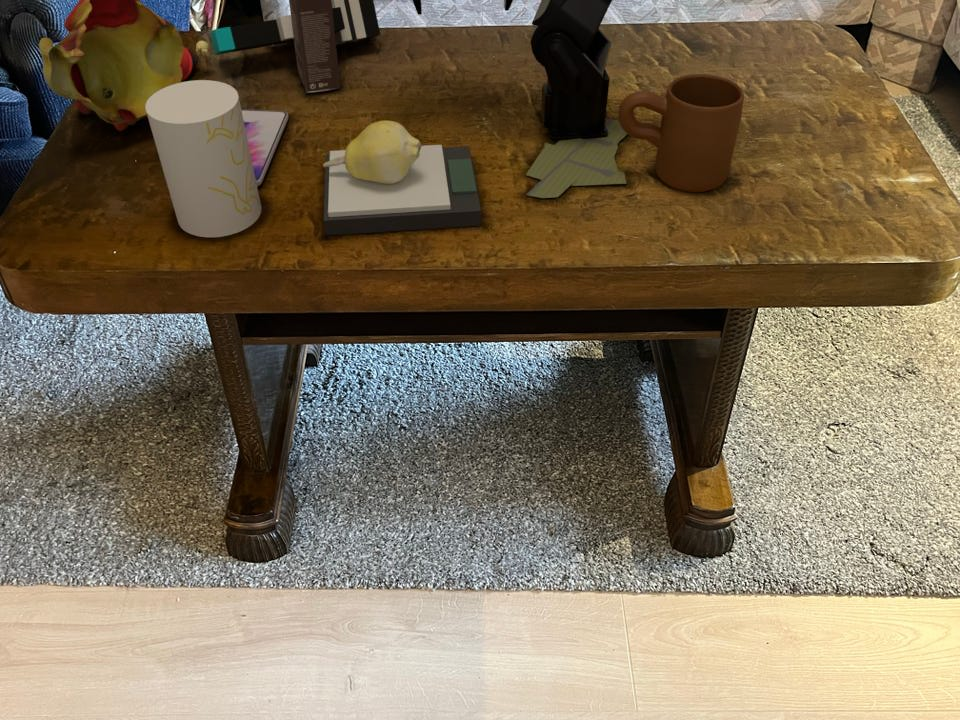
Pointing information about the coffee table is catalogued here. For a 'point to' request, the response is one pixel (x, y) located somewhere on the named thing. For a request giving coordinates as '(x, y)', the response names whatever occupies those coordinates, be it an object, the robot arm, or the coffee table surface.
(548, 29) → the robot arm
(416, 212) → the scale
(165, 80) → the toy
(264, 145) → the smartphone
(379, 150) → the fruit
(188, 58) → the toy figurine
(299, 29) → the box
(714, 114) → the mug
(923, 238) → the coffee table surface
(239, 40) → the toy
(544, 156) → the map
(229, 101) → the cup
